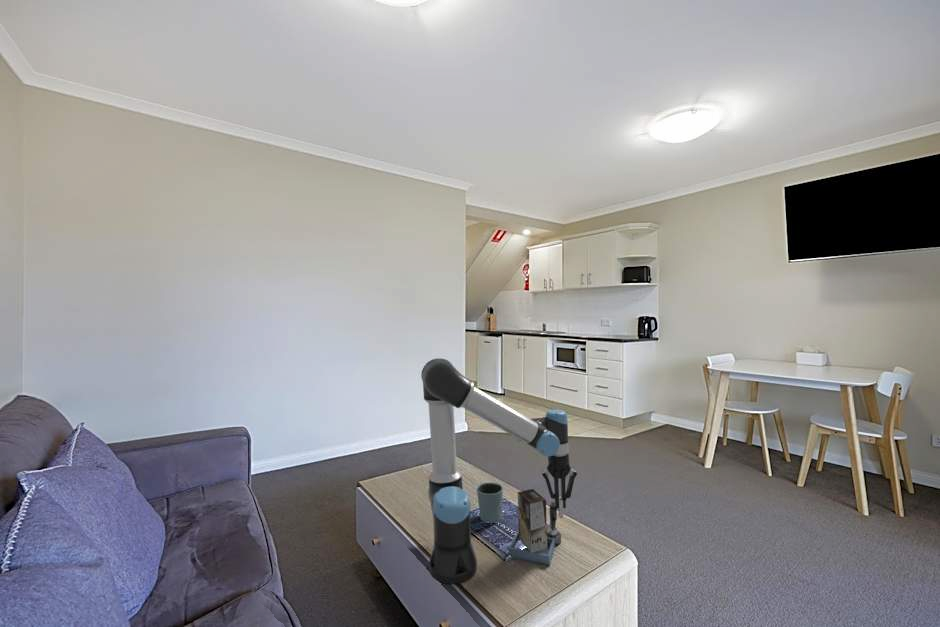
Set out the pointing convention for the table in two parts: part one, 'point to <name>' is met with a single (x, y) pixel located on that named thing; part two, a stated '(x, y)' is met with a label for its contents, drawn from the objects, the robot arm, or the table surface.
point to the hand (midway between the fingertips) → (560, 516)
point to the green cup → (490, 502)
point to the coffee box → (532, 520)
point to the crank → (552, 521)
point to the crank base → (556, 538)
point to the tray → (535, 557)
